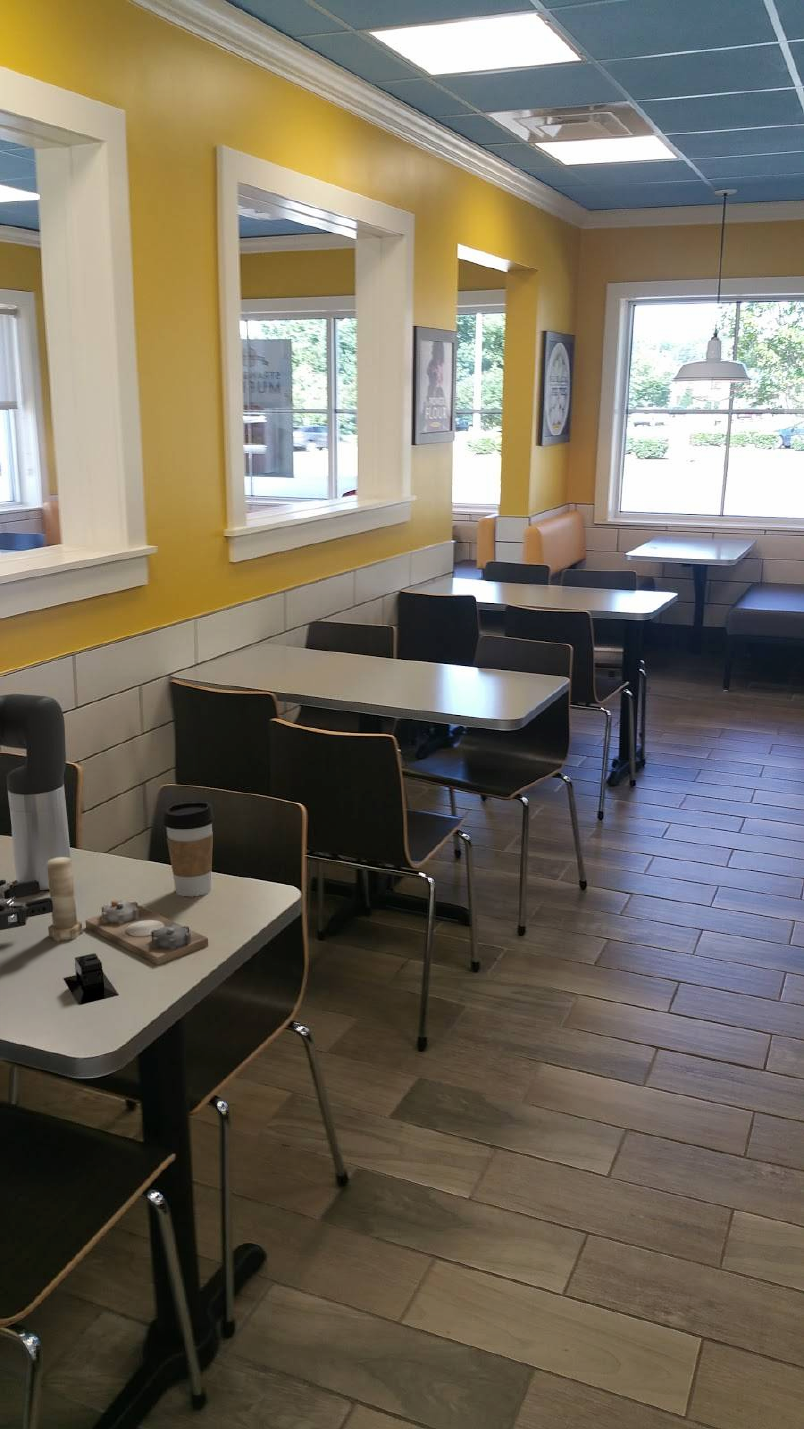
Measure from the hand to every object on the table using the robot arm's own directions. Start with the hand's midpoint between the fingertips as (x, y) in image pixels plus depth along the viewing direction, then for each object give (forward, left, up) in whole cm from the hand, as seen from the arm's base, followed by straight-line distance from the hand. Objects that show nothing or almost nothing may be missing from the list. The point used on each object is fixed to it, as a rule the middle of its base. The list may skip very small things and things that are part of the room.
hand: (45, 895), depth 175 cm
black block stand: (+19, -4, -8) cm, 21 cm away
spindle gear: (+1, +2, -7) cm, 7 cm away
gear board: (+11, +10, -7) cm, 16 cm away
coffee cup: (+1, +26, -7) cm, 27 cm away
